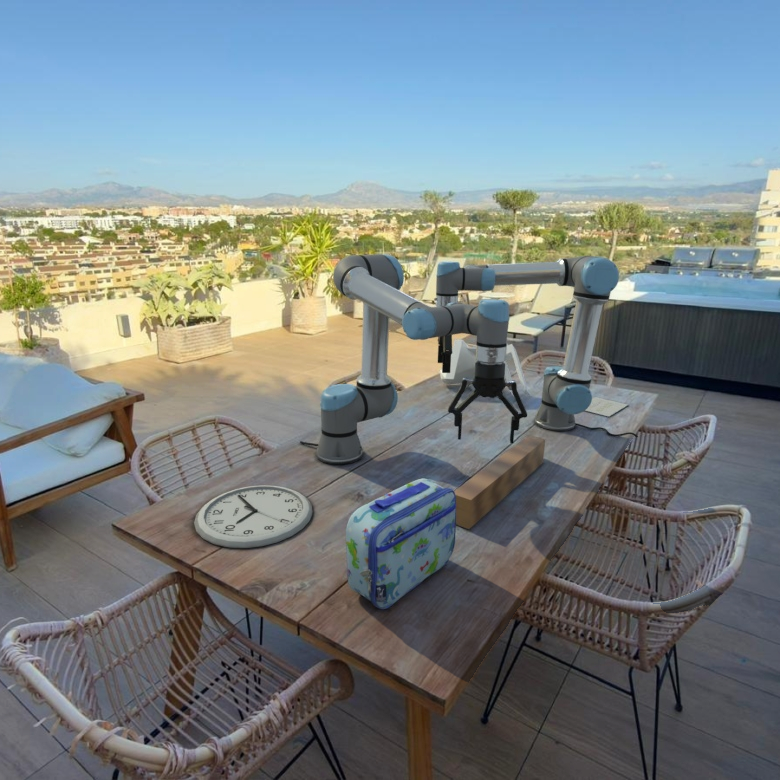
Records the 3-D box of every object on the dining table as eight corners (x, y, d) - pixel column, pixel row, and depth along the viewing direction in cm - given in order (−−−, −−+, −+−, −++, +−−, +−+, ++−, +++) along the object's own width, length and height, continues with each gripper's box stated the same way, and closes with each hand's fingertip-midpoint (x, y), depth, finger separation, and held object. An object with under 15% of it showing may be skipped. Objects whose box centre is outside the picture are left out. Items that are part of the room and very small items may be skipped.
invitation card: (608, 416, 214) (573, 407, 224) (608, 416, 214) (573, 408, 224) (628, 404, 229) (594, 396, 238) (628, 405, 229) (594, 397, 238)
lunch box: (375, 622, 100) (376, 527, 94) (339, 595, 108) (338, 505, 101) (459, 565, 118) (465, 481, 112) (424, 545, 125) (427, 465, 119)
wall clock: (308, 539, 124) (178, 544, 121) (308, 545, 124) (179, 550, 122) (315, 481, 152) (209, 483, 150) (315, 486, 153) (210, 488, 150)
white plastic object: (461, 429, 252) (437, 405, 227) (444, 352, 274) (420, 323, 250) (535, 404, 240) (518, 377, 215) (510, 326, 262) (492, 293, 237)
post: (526, 458, 174) (528, 435, 172) (542, 463, 171) (545, 439, 168) (449, 522, 136) (451, 493, 133) (468, 529, 132) (470, 500, 130)
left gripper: (440, 362, 131) (437, 441, 137) (542, 367, 127) (535, 448, 133) (442, 356, 138) (439, 431, 144) (539, 360, 134) (532, 437, 140)
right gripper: (431, 302, 191) (429, 359, 197) (439, 313, 167) (437, 377, 174) (452, 302, 191) (449, 359, 198) (463, 313, 167) (459, 377, 174)
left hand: (485, 439), depth 139 cm, fingers open, 13 cm apart
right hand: (443, 367), depth 186 cm, fingers open, 13 cm apart
